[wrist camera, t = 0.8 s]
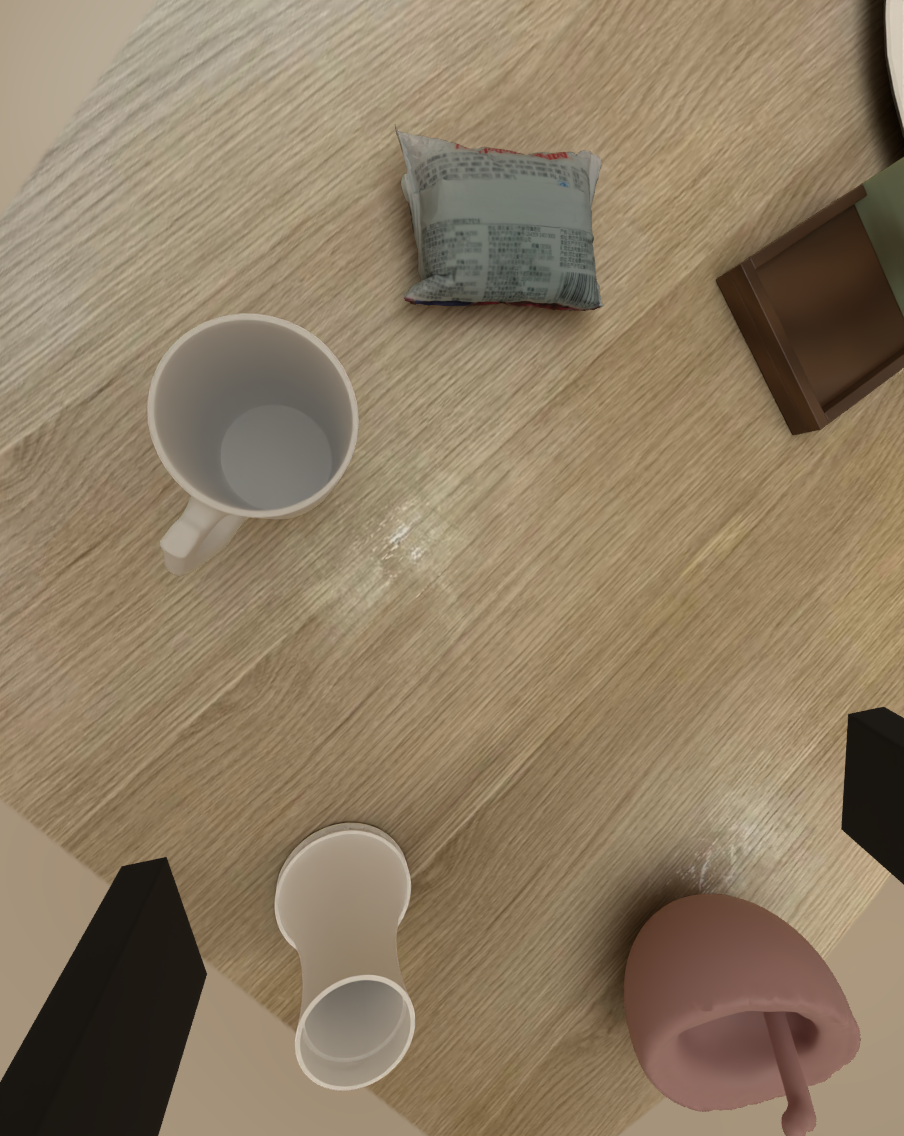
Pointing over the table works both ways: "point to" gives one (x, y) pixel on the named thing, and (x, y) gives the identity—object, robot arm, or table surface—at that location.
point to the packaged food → (501, 225)
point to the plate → (895, 52)
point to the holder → (828, 303)
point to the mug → (247, 428)
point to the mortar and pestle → (734, 1009)
